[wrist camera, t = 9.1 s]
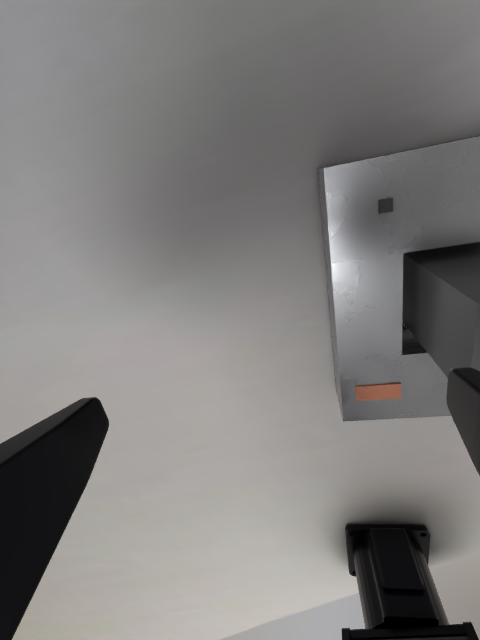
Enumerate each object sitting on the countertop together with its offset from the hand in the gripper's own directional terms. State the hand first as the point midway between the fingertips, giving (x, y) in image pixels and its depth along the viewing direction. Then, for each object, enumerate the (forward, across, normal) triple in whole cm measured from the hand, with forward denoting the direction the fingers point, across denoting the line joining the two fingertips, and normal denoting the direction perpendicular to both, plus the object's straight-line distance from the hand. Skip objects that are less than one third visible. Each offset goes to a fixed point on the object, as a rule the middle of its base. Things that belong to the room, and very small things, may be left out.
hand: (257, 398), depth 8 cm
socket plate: (+12, -9, +2) cm, 15 cm away
